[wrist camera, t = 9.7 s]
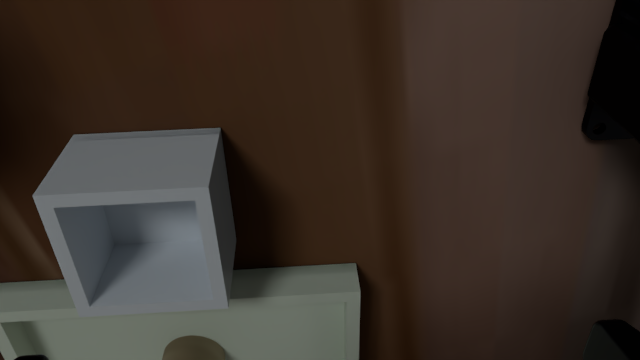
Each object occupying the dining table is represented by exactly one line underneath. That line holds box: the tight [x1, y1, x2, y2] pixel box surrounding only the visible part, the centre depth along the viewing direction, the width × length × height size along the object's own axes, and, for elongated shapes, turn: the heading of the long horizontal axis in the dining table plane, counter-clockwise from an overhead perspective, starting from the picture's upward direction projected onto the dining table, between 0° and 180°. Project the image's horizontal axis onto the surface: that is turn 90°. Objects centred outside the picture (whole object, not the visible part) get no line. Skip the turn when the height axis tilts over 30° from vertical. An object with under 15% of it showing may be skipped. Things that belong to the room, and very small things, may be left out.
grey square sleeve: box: [33, 128, 236, 317], centre depth 20 cm, size 6×6×4 cm
